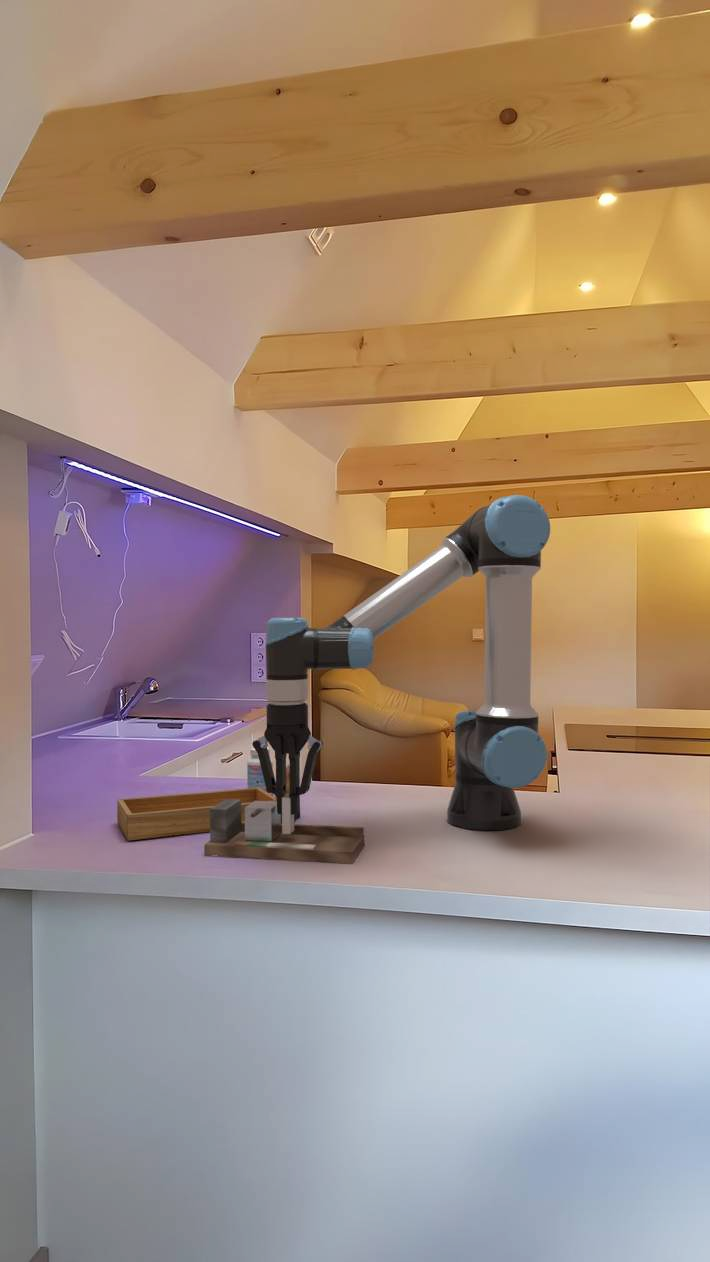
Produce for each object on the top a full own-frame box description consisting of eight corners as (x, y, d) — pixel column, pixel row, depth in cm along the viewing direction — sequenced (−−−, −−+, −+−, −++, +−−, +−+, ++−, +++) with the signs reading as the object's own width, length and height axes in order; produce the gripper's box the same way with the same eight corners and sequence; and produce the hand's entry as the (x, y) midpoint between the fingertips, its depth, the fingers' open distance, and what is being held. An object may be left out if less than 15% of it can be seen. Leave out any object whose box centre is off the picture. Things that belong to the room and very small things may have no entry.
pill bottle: (244, 797, 185) (243, 750, 185) (251, 792, 191) (251, 746, 191) (268, 798, 184) (268, 750, 184) (275, 792, 190) (275, 746, 190)
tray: (259, 810, 174) (259, 785, 174) (281, 826, 160) (280, 798, 160) (117, 826, 161) (116, 798, 161) (127, 844, 148) (127, 815, 148)
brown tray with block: (364, 845, 144) (364, 802, 144) (352, 863, 133) (351, 817, 133) (227, 838, 150) (226, 797, 149) (204, 855, 139) (204, 810, 139)
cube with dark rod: (280, 833, 144) (280, 801, 144) (266, 847, 136) (265, 812, 136) (255, 832, 146) (254, 800, 145) (239, 845, 137) (238, 811, 137)
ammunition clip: (282, 830, 156) (281, 770, 156) (273, 829, 156) (273, 769, 156) (300, 817, 166) (299, 761, 166) (292, 816, 167) (291, 760, 166)
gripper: (327, 700, 143) (328, 828, 144) (259, 699, 146) (260, 825, 146) (316, 705, 136) (317, 839, 136) (246, 704, 139) (247, 835, 139)
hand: (288, 831), depth 141 cm, fingers closed
